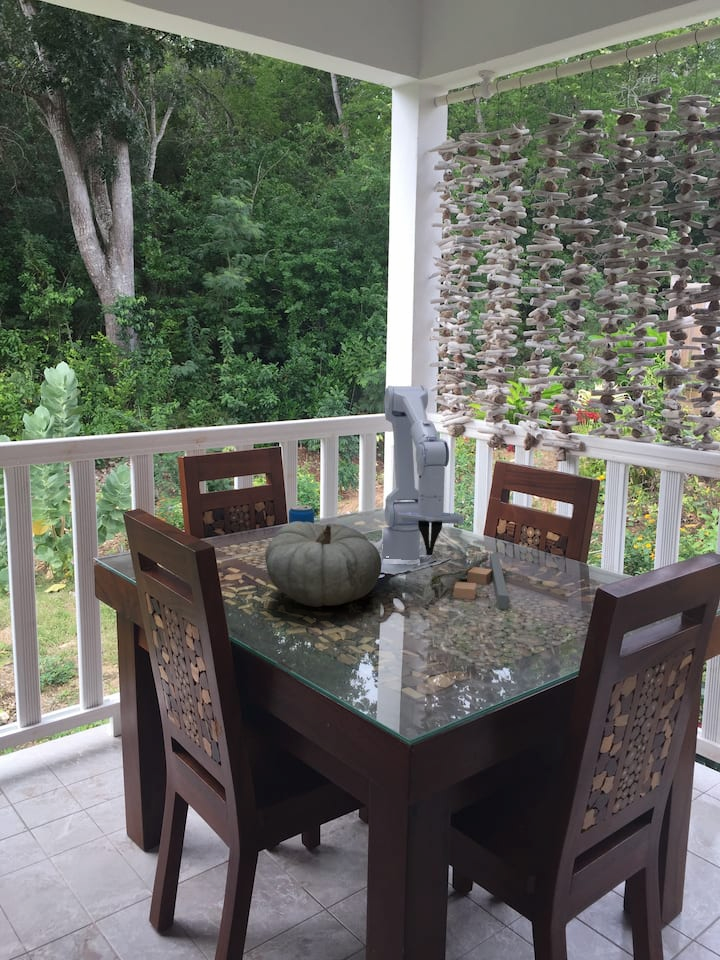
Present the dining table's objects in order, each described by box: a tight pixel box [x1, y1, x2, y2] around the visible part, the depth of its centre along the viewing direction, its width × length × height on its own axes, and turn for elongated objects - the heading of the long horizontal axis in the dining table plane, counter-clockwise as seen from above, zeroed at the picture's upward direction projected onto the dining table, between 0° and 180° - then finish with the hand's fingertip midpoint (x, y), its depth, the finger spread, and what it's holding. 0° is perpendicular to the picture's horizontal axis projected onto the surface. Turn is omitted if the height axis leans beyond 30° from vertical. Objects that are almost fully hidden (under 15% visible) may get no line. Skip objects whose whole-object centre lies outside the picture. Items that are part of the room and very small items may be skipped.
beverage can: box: [288, 504, 315, 524], centre depth 212 cm, size 6×6×12 cm
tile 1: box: [453, 581, 478, 600], centre depth 180 cm, size 4×4×2 cm
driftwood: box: [422, 551, 490, 605], centre depth 187 cm, size 37×2×5 cm, turn 150°
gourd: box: [264, 521, 383, 608], centre depth 175 cm, size 25×25×17 cm
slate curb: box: [489, 553, 509, 610], centre depth 187 cm, size 2×32×3 cm, turn 174°
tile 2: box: [466, 567, 492, 586], centre depth 191 cm, size 4×4×2 cm
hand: (429, 554), depth 185 cm, fingers closed
